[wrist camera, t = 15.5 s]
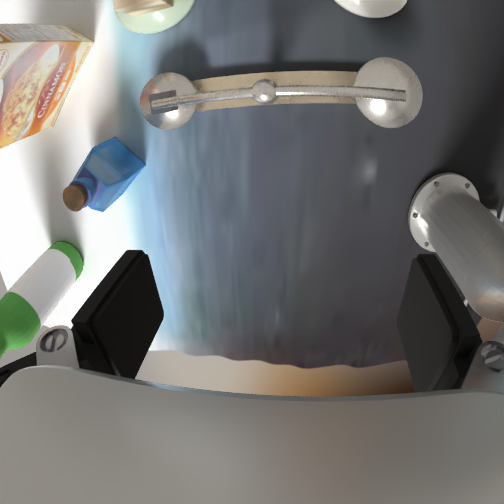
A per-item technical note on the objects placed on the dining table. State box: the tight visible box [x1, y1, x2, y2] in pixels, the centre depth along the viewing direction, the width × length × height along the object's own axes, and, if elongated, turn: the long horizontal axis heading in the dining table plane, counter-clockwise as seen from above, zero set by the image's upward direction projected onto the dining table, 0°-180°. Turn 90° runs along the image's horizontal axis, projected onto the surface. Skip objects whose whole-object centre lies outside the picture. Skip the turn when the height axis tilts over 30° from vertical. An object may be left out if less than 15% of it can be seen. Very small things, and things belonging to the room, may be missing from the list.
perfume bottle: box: [63, 137, 145, 212], centre depth 36 cm, size 6×6×12 cm
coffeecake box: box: [0, 24, 94, 149], centre depth 25 cm, size 15×7×20 cm, turn 142°
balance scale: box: [140, 57, 423, 130], centre depth 28 cm, size 30×7×15 cm, turn 95°
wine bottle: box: [0, 242, 83, 358], centre depth 38 cm, size 8×8×30 cm
